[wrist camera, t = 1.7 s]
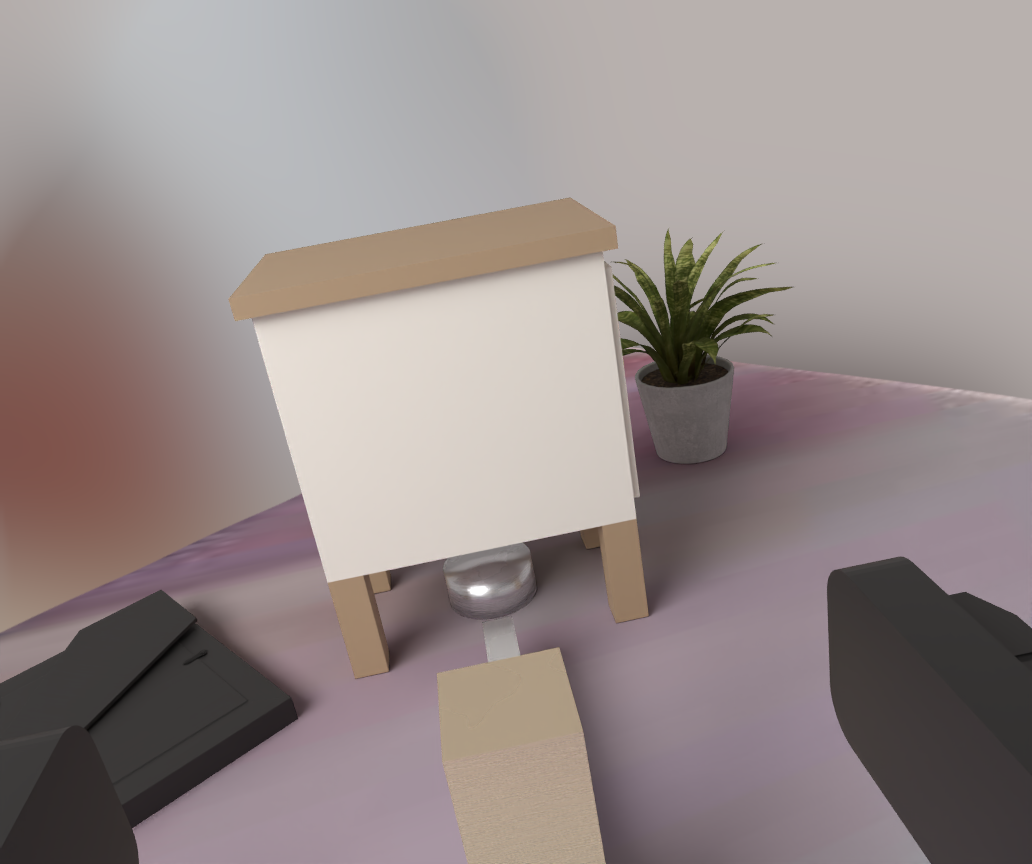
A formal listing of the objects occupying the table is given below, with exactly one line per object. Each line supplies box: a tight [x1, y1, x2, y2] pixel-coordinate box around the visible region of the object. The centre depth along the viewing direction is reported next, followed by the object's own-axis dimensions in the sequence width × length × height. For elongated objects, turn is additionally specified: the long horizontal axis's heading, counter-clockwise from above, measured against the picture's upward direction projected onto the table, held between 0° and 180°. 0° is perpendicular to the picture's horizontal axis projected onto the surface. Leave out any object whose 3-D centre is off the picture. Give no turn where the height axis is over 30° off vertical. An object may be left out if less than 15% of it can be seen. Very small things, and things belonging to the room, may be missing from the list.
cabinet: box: [229, 198, 649, 679], centre depth 47 cm, size 18×11×21 cm, turn 97°
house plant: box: [612, 230, 792, 464], centre depth 62 cm, size 14×14×16 cm
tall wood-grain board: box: [437, 616, 606, 864], centre depth 33 cm, size 4×20×13 cm, turn 7°
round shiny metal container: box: [443, 543, 537, 619], centre depth 52 cm, size 5×5×2 cm
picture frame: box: [0, 590, 298, 828], centre depth 43 cm, size 16×3×21 cm
